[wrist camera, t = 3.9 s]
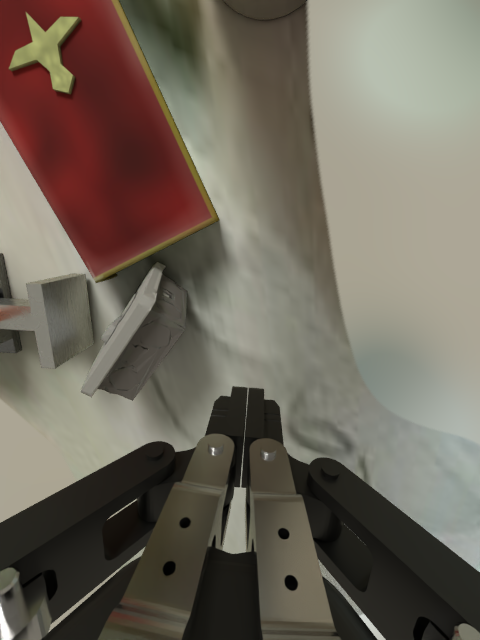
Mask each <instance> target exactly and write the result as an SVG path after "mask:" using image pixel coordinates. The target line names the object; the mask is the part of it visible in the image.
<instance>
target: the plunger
mask: <svg viewBox="0 0 480 640" xmlns="http://www.w3.org/2000/svg"><path fill="white" fill-rule="evenodd" d="M26 287H27V292H28V298H29V300H27V299H9V298H0V329H11V330H26V331H35V336H36V341H37V347H38V352H39V358H40V363H41V368H52V369H56V368H57V367H59V366H60V365H62V364H63V363H65V362H66V361H68V360H69V359H71V358H73V357H74V356H76V355H77V354H79V353H80V352H82V351H83V350H85V349H86V348H88V347H90V346H91V345H93V344H94V341H93V333H92V324H91V316H90V308H89V299H88V291H87V283H86V275H85V274H68V275H64V276H59V277H54V278H49V279H45V280H40V281H35V282H30V283H26Z"/></svg>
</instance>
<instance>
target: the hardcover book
mask: <svg viewBox="0 0 480 640" xmlns="http://www.w3.org/2000/svg"><path fill="white" fill-rule="evenodd" d="M0 121H1V123H2V125H3V126H4V128H5V130H6V132H7V133H8V135H9V137H10V138H11V140H12V142H13V143H14V145H15V147H16V148H17V150H18V152H19V153H20V155H21V157H22V159H23V160H24V162H25V164H26V165H27V167H28V169H29V170H30V172H31V174H32V175H33V177H34V179H35V180H36V182H37V184H38V186H39V187H40V189H41V191H42V192H43V194H44V196H45V197H46V199H47V201H48V202H49V204H50V206H51V208H52V209H53V211H54V213H55V214H56V216H57V218H58V219H59V221H60V223H61V224H62V226H63V228H64V229H65V231H66V233H67V235H68V236H69V238H70V240H71V241H72V243H73V245H74V246H75V248H76V250H77V251H78V253H79V255H80V256H81V258H82V260H83V262H84V263H85V265H86V267H87V268H88V270H89V272H90V273H91V275H92V277H93V278H94V280H95V282H96V283H98V282H102V281H105V280H108V279H111V278H114V277H116V276H117V274H116V273H117V272H119V271H120V270H122V269H124V268H126V267H128V266H130V265H132V264H134V263H136V262H138V261H140V260H142V259H144V258H146V257H148V256H150V255H152V254H154V253H156V252H158V251H160V250H162V249H164V248H166V247H168V246H170V245H172V244H174V243H176V242H178V241H180V240H182V239H184V238H186V237H188V236H189V235H191V234H193V233H195V232H197V231H199V230H201V229H203V228H205V227H207V226H209V225H211V224H213V223H215V222H217V221H219V218H218V215H217V213H216V211H215V209H214V207H213V205H212V202H211V200H210V198H209V196H208V194H207V191H206V189H205V187H204V185H203V183H202V181H201V178H200V176H199V174H198V172H197V170H196V167H195V165H194V163H193V161H192V159H191V156H190V154H189V152H188V150H187V148H186V146H185V143H184V141H183V139H182V137H181V135H180V132H179V130H178V128H177V126H176V124H175V122H174V119H173V117H172V115H171V113H170V111H169V108H168V106H167V104H166V102H165V100H164V97H163V95H162V93H161V91H160V89H159V87H158V84H157V82H156V80H155V78H154V76H153V73H152V71H151V69H150V67H149V65H148V63H147V60H146V58H145V56H144V54H143V52H142V49H141V47H140V45H139V43H138V41H137V39H136V36H135V34H134V32H133V30H132V28H131V25H130V23H129V21H128V19H127V17H126V14H125V12H124V10H123V8H122V6H121V4H120V1H119V0H0Z"/></svg>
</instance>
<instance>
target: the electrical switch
mask: <svg viewBox="0 0 480 640" xmlns="http://www.w3.org/2000/svg"><path fill="white" fill-rule="evenodd" d="M165 267H166V266H164V265H162V264H161V263H159V262H156V263H155V264H154V265H153V266H152V267H151V269H150V270H149V272H148V274H147V275H146V277H145V278H144V280H143V281H142V283H141V284H140V286H139V287H138V289H137V291H136V292H135V294H134V295H133V297H132V299H131V300H130V302H129V303H128V305H127V306H126V308H125V309H124V311H123V313H122V314H121V316H120V317H119V318H117V319H116V320H115V321H114V322H112V323H111V324H110V325H109V326H108V328H107V329H106V331H105V332H104V334H103V335H102V337H101V340H102V341H104V344H103V346H102V348H101V349H100V351H99V353H98V355H97V357H96V359H95V361H94V363H93V364H92V366H91V368H90V371H89V373H88V375H87V377H86V380H85V382H84V384H83V387H82V389H81V393H83V394H86V395H88V396H90V397H92V396H93V394H94V393H95V391H96V390H97V389H102V390H105V391H107V392H109V393H112V394H118V395H121V396H123V397H125V398H128V399H130V400H132V401H133V399H134V398H135V397H136V395H137V394H138V393H139V391H140V390H141V388H142V387H143V386H144V384H145V383H146V382H147V380H148V379H149V378H150V376H151V375H152V374H153V372H154V371H155V370H156V368H157V367H158V365H159V364H160V363H161V361H162V360H163V359H164V357H165V356H166V355H167V353H168V352H169V351H170V349H171V348H172V347H173V345H174V344H175V342H176V341H177V340H178V338H179V337H180V336H181V334H182V333H183V332H184V330H185V329H184V328H186V305H187V291H186V290H185V289H183V288H182V287H180V286H178V285H177V284H176V283H175V282H174V281H172V280H171V279H169V278H167V277H166V276H165V275H163V274H162V271H163V270H164V269H165ZM175 323H176V324H175ZM177 324H178V325H177ZM179 325H180V326H179ZM181 326H182V327H184V328H182V327H181ZM171 337H172V339H171ZM148 349H149V350H148ZM138 384H139V385H138Z"/></svg>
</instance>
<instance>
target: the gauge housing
mask: <svg viewBox="0 0 480 640" xmlns="http://www.w3.org/2000/svg"><path fill="white" fill-rule="evenodd" d="M0 298H9V299H12V298H11V293H10V288H9V283H8V278H7V273H6V268H5V263H4V258H3V254H2V253H0ZM21 350H22V348H21V343H20V338H19V333H18V330H11V329H0V352H7V353H17V352H19V351H21Z"/></svg>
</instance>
